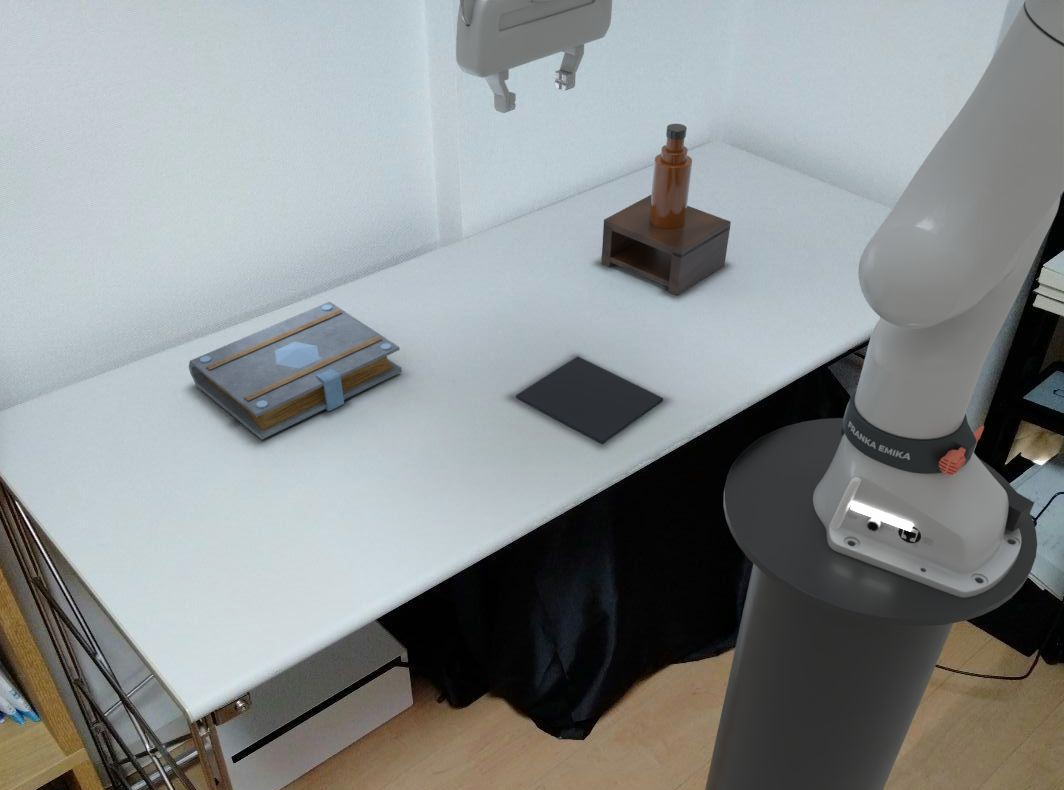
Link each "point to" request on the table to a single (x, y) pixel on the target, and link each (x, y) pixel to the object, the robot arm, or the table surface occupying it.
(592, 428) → the mat
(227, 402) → the book
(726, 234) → the shelf
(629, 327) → the table surface
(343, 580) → the table surface
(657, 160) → the bottle
